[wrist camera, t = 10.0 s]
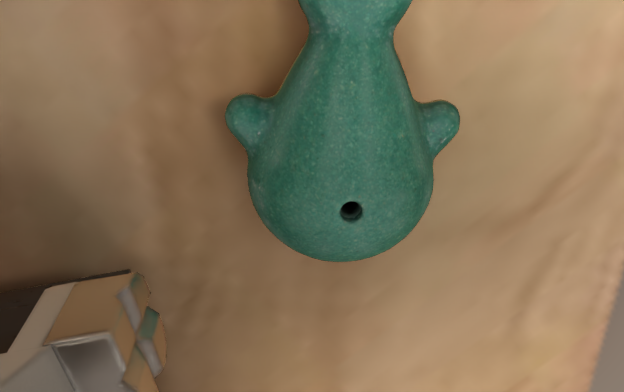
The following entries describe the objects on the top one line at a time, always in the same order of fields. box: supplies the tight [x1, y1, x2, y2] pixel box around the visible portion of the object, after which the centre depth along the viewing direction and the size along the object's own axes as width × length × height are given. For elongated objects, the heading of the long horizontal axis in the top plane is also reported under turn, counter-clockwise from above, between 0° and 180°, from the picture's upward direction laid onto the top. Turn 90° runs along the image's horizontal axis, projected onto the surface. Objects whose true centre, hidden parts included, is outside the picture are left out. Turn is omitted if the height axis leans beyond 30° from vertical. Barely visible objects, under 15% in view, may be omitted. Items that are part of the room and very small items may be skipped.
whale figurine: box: [225, 0, 460, 262], centre depth 14 cm, size 6×7×4 cm
